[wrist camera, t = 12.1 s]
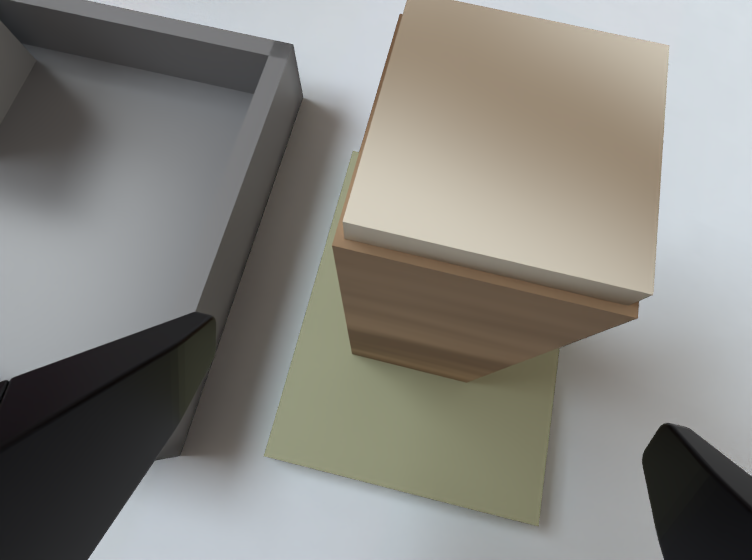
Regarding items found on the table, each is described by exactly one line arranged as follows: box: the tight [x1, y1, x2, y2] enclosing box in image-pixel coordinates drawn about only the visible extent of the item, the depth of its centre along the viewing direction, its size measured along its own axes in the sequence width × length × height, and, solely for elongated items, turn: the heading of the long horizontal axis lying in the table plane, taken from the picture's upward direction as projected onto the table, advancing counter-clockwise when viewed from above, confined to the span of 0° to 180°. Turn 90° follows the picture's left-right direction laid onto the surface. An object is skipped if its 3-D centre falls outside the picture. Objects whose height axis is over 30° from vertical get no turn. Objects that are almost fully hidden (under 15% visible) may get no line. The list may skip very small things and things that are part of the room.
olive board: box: [264, 151, 559, 526], centre depth 18 cm, size 13×10×1 cm
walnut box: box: [332, 0, 669, 383], centre depth 12 cm, size 4×4×12 cm
